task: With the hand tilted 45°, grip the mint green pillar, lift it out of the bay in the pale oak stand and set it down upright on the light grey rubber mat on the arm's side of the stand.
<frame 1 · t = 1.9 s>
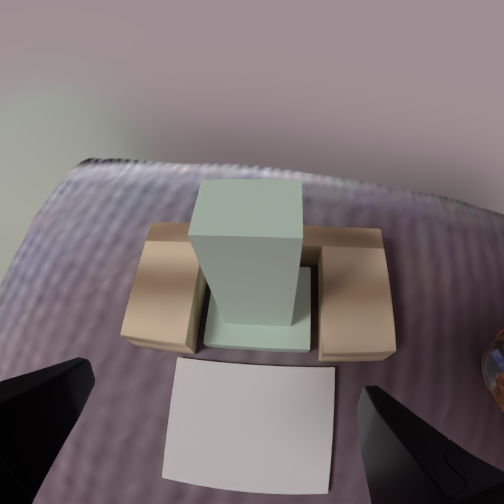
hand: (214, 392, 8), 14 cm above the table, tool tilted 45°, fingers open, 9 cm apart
stand: (260, 308, 24), on the table
mint green pillar: (255, 271, 19), in the stand
mat: (249, 429, 19), on the table
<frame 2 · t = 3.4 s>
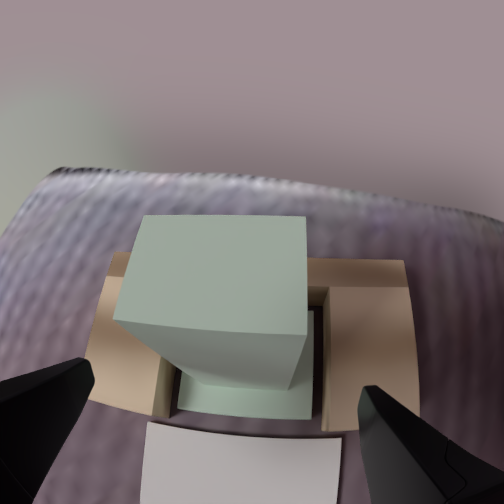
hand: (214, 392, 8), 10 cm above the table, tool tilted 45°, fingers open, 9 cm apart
stand: (248, 364, 18), on the table
mint green pillar: (237, 336, 13), in the stand
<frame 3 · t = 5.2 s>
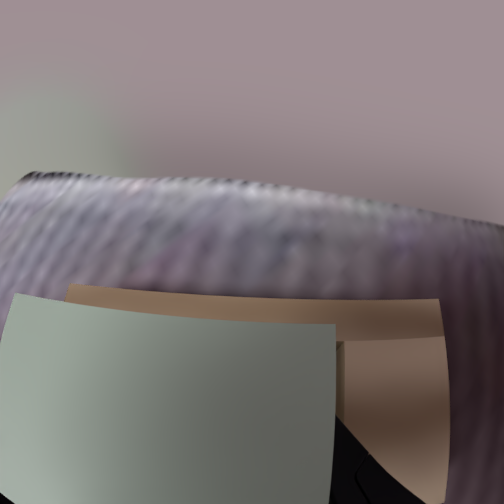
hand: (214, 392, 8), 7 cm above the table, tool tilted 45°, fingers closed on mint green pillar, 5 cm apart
stand: (236, 431, 13), on the table
mint green pillar: (212, 435, 8), in the stand, touching gripper
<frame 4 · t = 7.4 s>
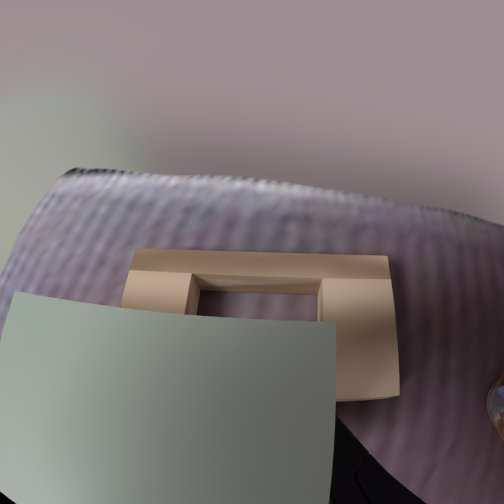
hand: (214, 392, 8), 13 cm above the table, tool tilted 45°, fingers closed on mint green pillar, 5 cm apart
stand: (254, 344, 22), on the table
mint green pillar: (212, 434, 8), point 13 cm above the table, touching gripper
when the fingers open (8 cm above the table, at t = 9.6 s): mint green pillar stays where it is, resting on mat.
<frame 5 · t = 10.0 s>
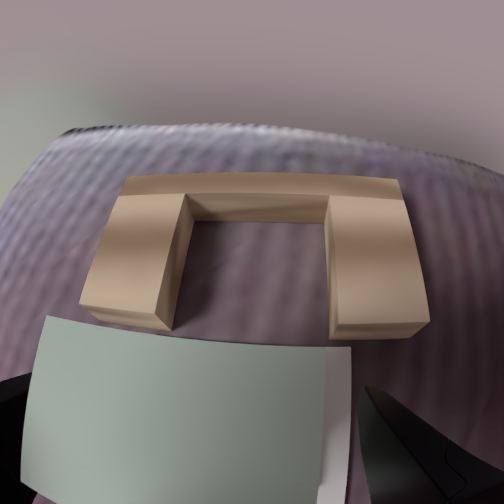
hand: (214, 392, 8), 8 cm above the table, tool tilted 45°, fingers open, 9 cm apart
stand: (253, 274, 20), on the table
mint green pillar: (218, 434, 9), on the mat
mat: (239, 429, 14), on the table
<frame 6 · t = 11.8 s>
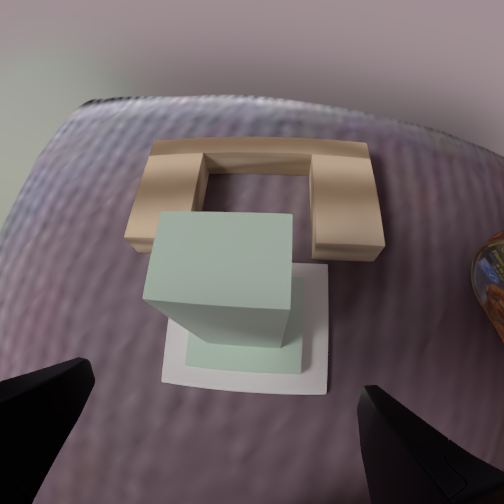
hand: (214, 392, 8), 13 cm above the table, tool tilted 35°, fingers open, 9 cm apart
stand: (255, 212, 26), on the table
mint green pillar: (237, 302, 16), on the mat
tin: (502, 321, 20), on the table
mat: (247, 325, 22), on the table
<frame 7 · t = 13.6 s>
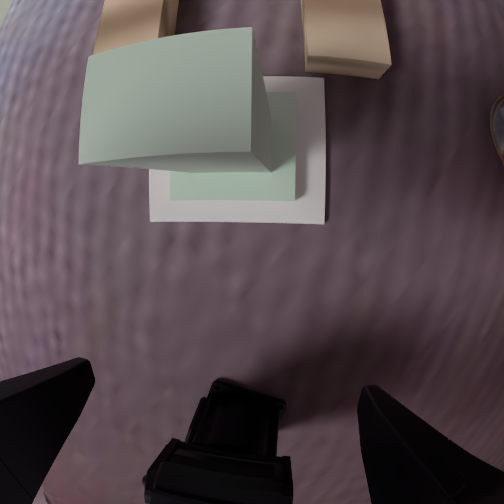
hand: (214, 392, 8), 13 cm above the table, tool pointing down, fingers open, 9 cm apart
stand: (236, 24, 17), on the table
mint green pillar: (210, 130, 13), on the mat
mat: (234, 147, 19), on the table
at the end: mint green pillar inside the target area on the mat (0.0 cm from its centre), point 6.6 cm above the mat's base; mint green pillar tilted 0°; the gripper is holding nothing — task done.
